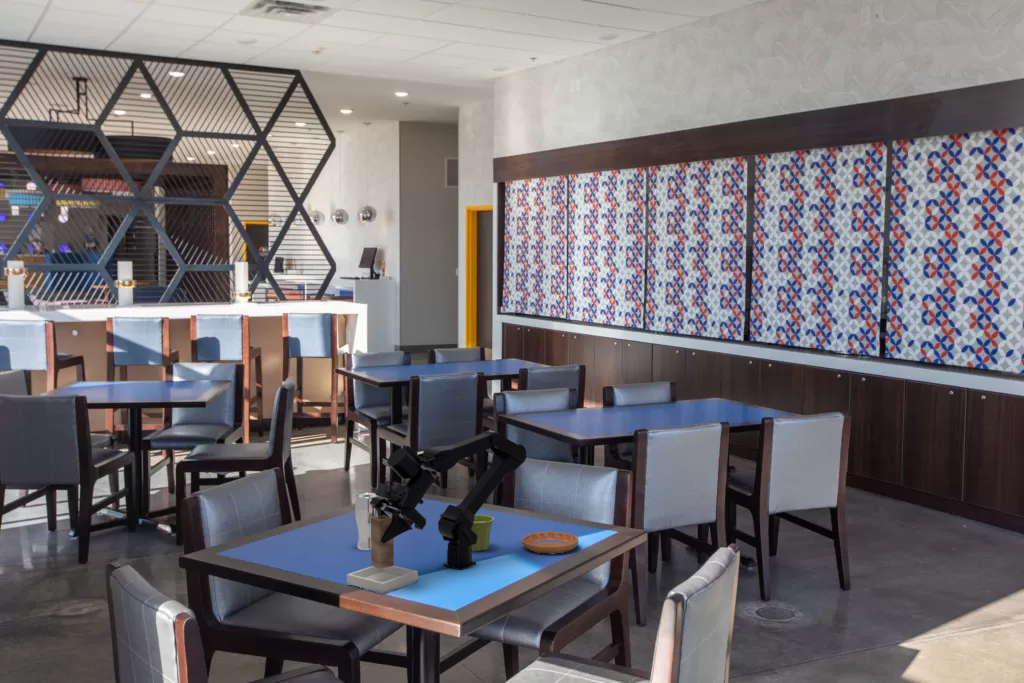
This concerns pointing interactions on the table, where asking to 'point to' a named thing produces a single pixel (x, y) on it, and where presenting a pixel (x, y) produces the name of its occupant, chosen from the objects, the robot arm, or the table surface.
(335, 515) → the table surface
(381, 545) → the walnut post
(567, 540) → the saucer
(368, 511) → the beer glass
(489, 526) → the plant pot
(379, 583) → the bus tray
